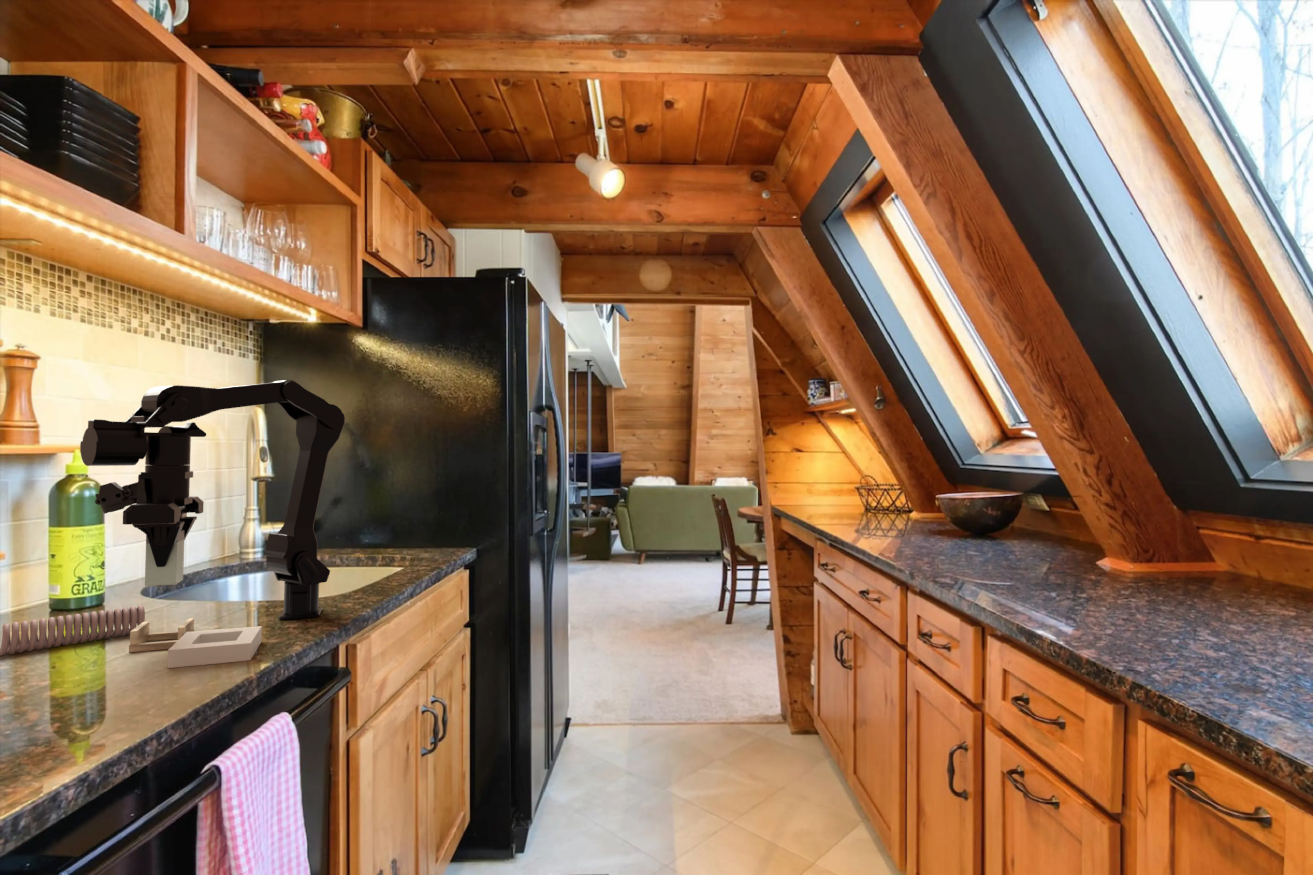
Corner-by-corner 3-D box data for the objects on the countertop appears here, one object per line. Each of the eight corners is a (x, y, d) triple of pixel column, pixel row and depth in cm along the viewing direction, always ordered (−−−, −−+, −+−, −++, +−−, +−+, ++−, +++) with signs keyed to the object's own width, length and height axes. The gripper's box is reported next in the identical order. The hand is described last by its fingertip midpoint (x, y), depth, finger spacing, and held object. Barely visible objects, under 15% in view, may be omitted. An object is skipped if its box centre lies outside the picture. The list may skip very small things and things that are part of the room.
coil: (143, 603, 113) (-5, 623, 100) (150, 604, 110) (-1, 625, 97) (143, 631, 113) (-6, 655, 99) (150, 633, 110) (-2, 658, 96)
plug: (152, 581, 106) (154, 530, 106) (183, 579, 107) (184, 529, 107) (144, 585, 102) (146, 533, 102) (176, 584, 103) (177, 532, 104)
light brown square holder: (143, 640, 106) (144, 621, 106) (194, 635, 109) (194, 617, 109) (128, 652, 100) (129, 632, 100) (183, 647, 103) (183, 627, 103)
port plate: (186, 648, 102) (187, 631, 102) (261, 641, 106) (261, 625, 106) (167, 668, 93) (168, 650, 93) (250, 660, 97) (250, 642, 97)
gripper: (125, 463, 110) (123, 558, 110) (79, 466, 93) (75, 578, 93) (205, 464, 115) (202, 554, 114) (174, 466, 97) (171, 573, 97)
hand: (165, 564), depth 105 cm, fingers closed on plug, 4 cm apart
